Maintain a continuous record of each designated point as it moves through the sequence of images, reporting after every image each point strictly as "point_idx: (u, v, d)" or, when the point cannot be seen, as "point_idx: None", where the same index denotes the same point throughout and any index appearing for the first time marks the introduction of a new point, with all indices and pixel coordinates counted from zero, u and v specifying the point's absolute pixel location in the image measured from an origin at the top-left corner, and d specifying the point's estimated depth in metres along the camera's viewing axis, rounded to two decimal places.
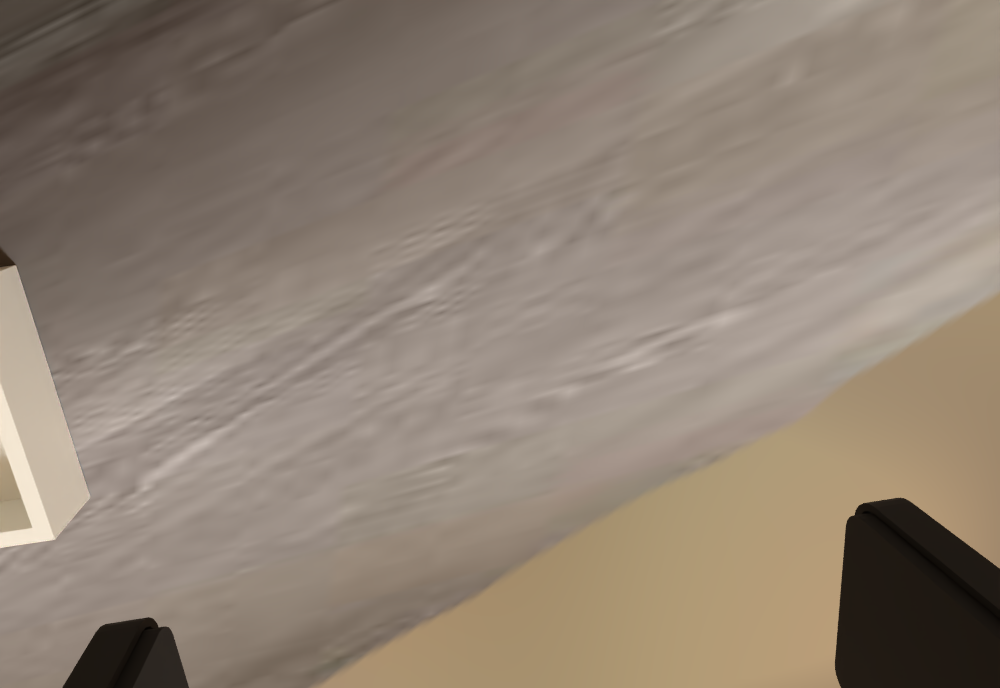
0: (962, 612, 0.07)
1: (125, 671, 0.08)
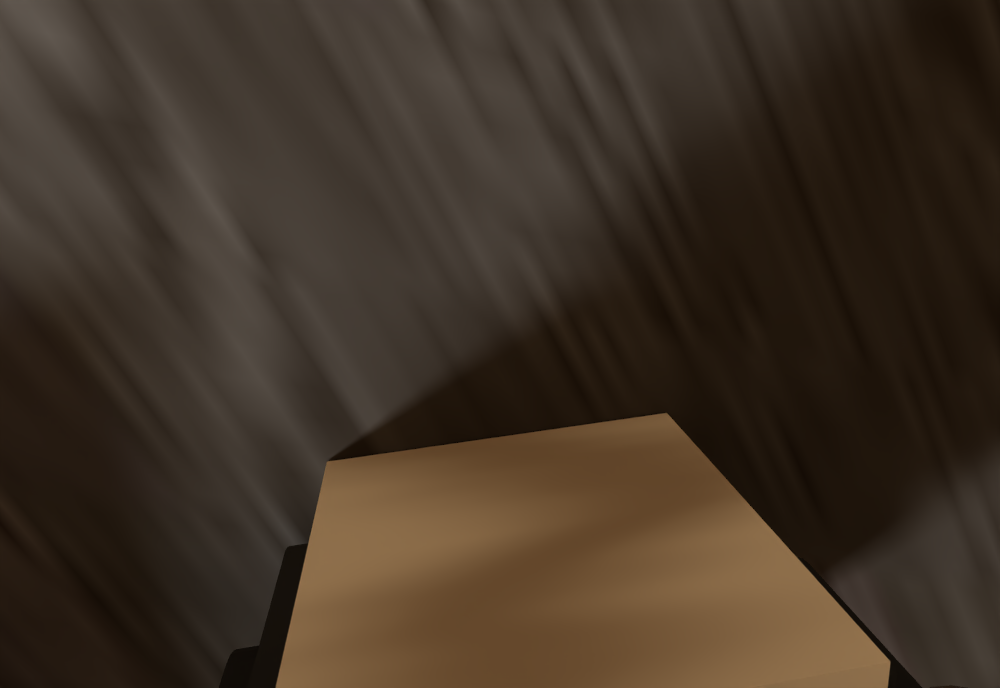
0: None
1: None
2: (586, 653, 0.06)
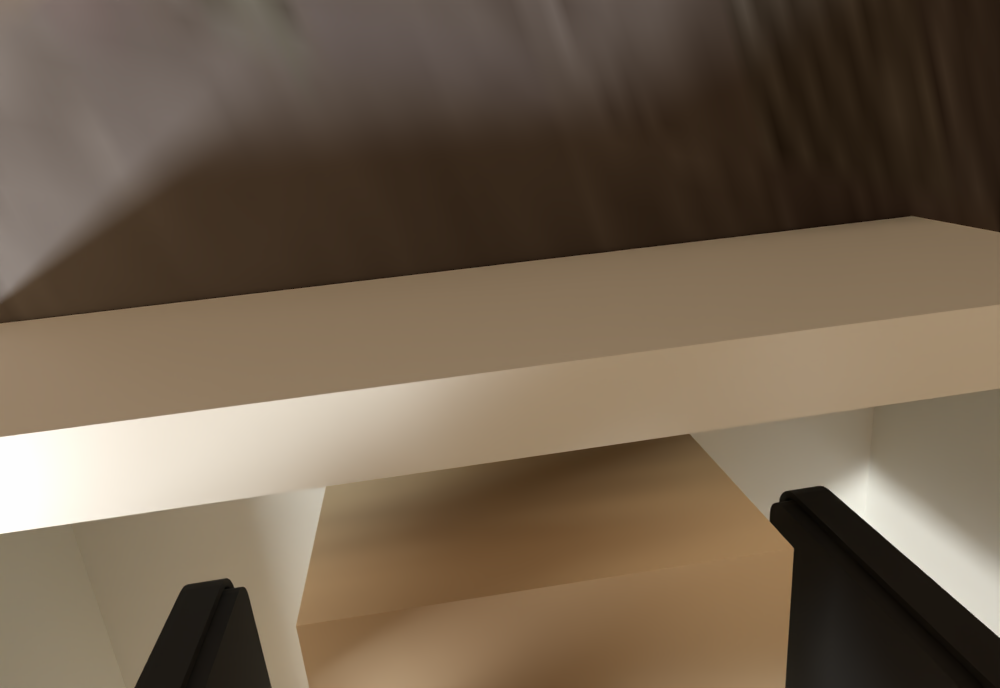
0: (860, 590, 0.08)
1: (213, 624, 0.08)
2: (555, 545, 0.07)
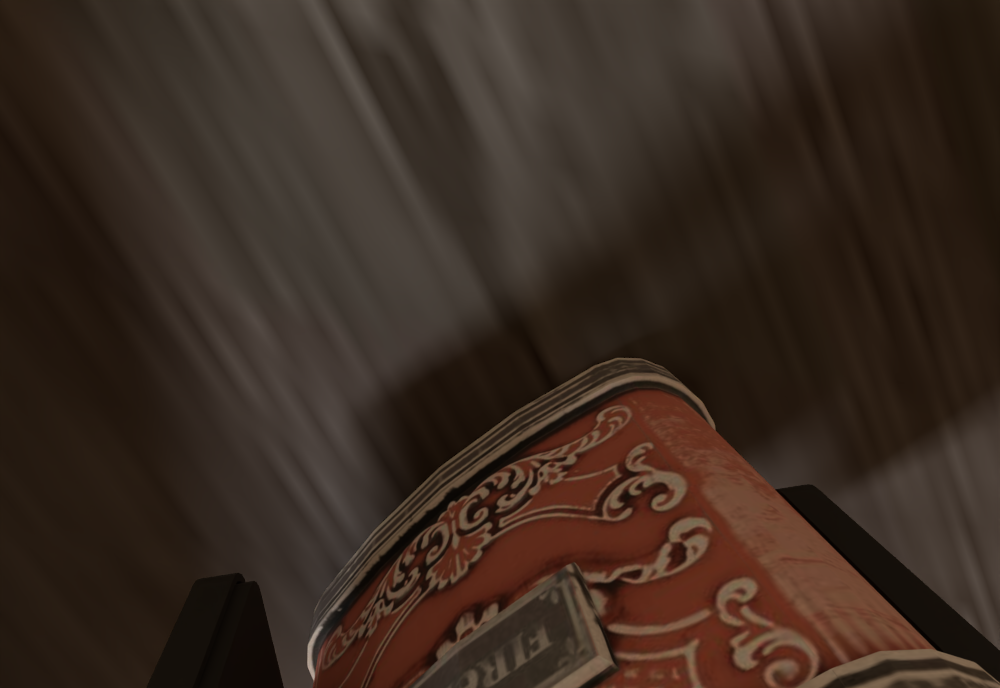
0: None
1: (226, 618, 0.08)
2: None
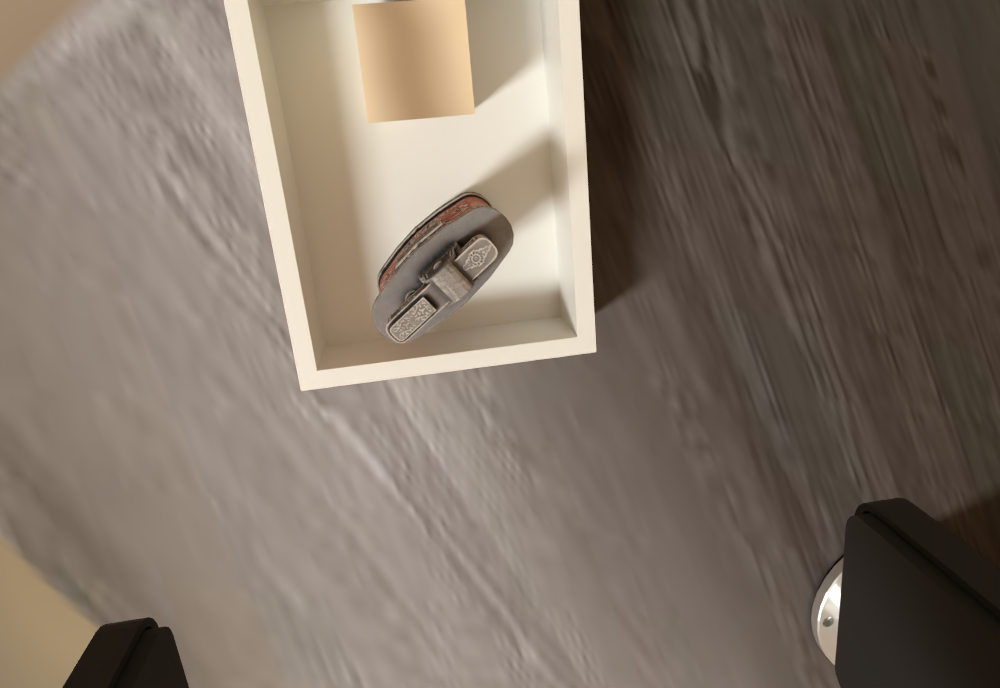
0: (962, 612, 0.07)
1: (125, 671, 0.08)
2: None
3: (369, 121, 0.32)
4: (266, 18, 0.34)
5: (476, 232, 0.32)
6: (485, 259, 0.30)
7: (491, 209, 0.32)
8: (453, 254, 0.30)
